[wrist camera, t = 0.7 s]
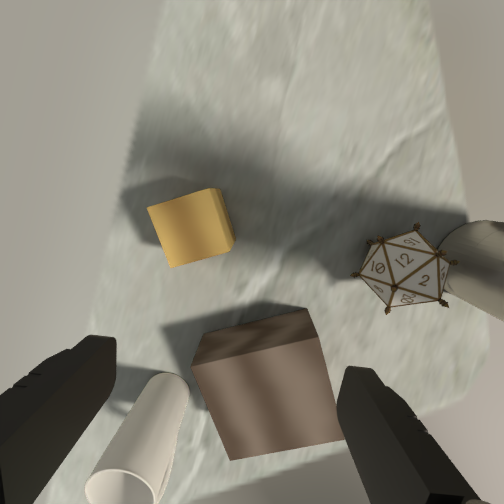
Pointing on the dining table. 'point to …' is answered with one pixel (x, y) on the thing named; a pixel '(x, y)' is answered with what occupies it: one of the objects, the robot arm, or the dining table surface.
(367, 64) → the dining table surface
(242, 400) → the riser
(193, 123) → the dining table surface
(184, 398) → the mug
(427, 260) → the game die
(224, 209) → the ochre block
